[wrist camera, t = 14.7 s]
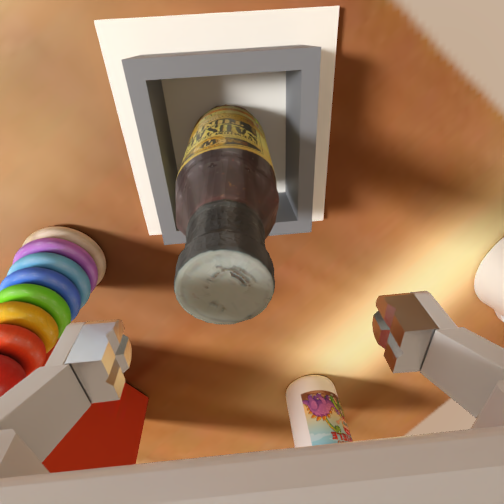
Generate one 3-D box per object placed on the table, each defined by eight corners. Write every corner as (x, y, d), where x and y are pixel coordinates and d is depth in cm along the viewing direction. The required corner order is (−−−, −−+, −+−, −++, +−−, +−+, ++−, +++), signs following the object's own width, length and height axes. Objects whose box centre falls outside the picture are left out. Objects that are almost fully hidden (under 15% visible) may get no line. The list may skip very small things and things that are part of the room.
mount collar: (337, 6, 25) (370, -2, 20) (321, 217, 35) (341, 251, 30) (96, 20, 24) (60, 16, 19) (150, 232, 34) (137, 270, 29)
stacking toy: (80, 296, 38) (-15, 478, 22) (11, 255, 34) (-160, 439, 19) (123, 256, 36) (49, 429, 20) (54, 207, 32) (-103, 372, 16)
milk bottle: (310, 408, 55) (351, 572, 38) (274, 394, 52) (301, 565, 35) (343, 383, 52) (403, 549, 35) (307, 366, 49) (354, 539, 32)
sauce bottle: (252, 90, 27) (303, 192, 11) (270, 161, 31) (330, 319, 14) (177, 115, 28) (118, 247, 11) (203, 182, 31) (188, 356, 15)
